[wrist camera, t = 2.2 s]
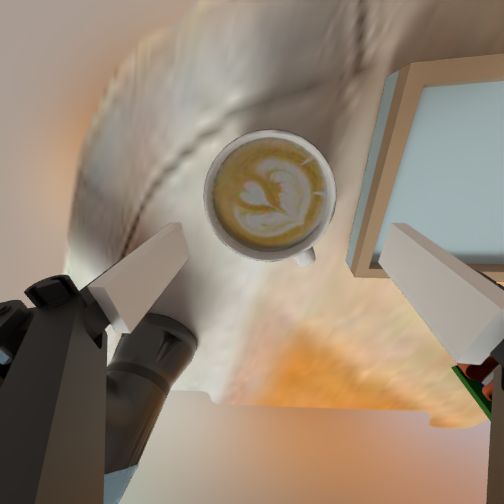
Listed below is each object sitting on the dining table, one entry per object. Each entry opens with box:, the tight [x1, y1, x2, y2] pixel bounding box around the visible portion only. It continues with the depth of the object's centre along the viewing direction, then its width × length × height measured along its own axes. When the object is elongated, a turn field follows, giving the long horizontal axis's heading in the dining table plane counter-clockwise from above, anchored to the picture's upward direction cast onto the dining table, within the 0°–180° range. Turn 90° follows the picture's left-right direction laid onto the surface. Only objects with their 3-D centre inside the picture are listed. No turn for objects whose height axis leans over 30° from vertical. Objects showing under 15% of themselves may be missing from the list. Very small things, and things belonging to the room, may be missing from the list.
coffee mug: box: [203, 129, 336, 267], centre depth 20 cm, size 13×10×10 cm
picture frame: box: [345, 53, 504, 282], centre depth 19 cm, size 18×18×6 cm
